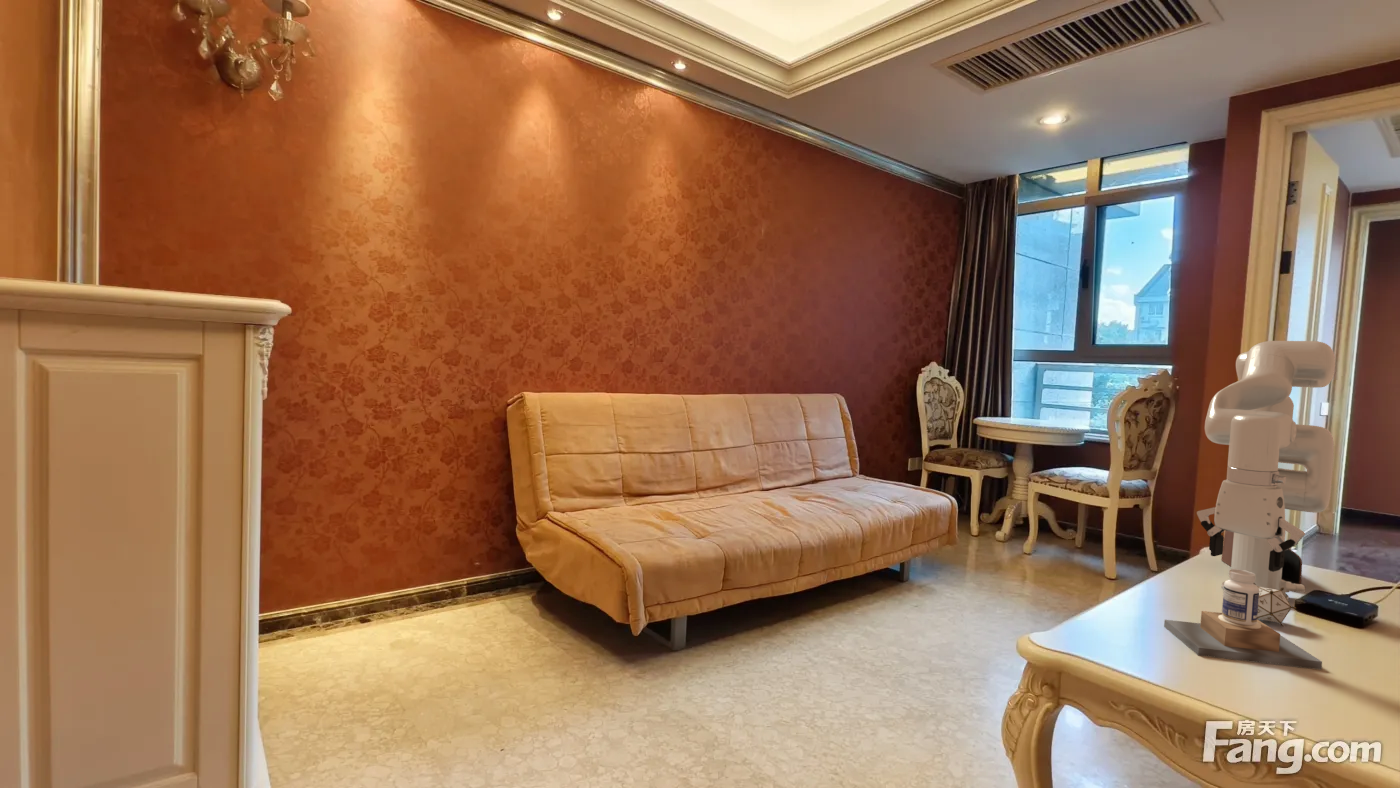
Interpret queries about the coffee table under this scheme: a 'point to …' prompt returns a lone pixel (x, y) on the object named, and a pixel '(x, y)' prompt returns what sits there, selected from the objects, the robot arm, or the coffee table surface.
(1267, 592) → the game die
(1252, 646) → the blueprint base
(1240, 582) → the pill bottle
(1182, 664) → the coffee table surface
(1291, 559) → the letter holder
